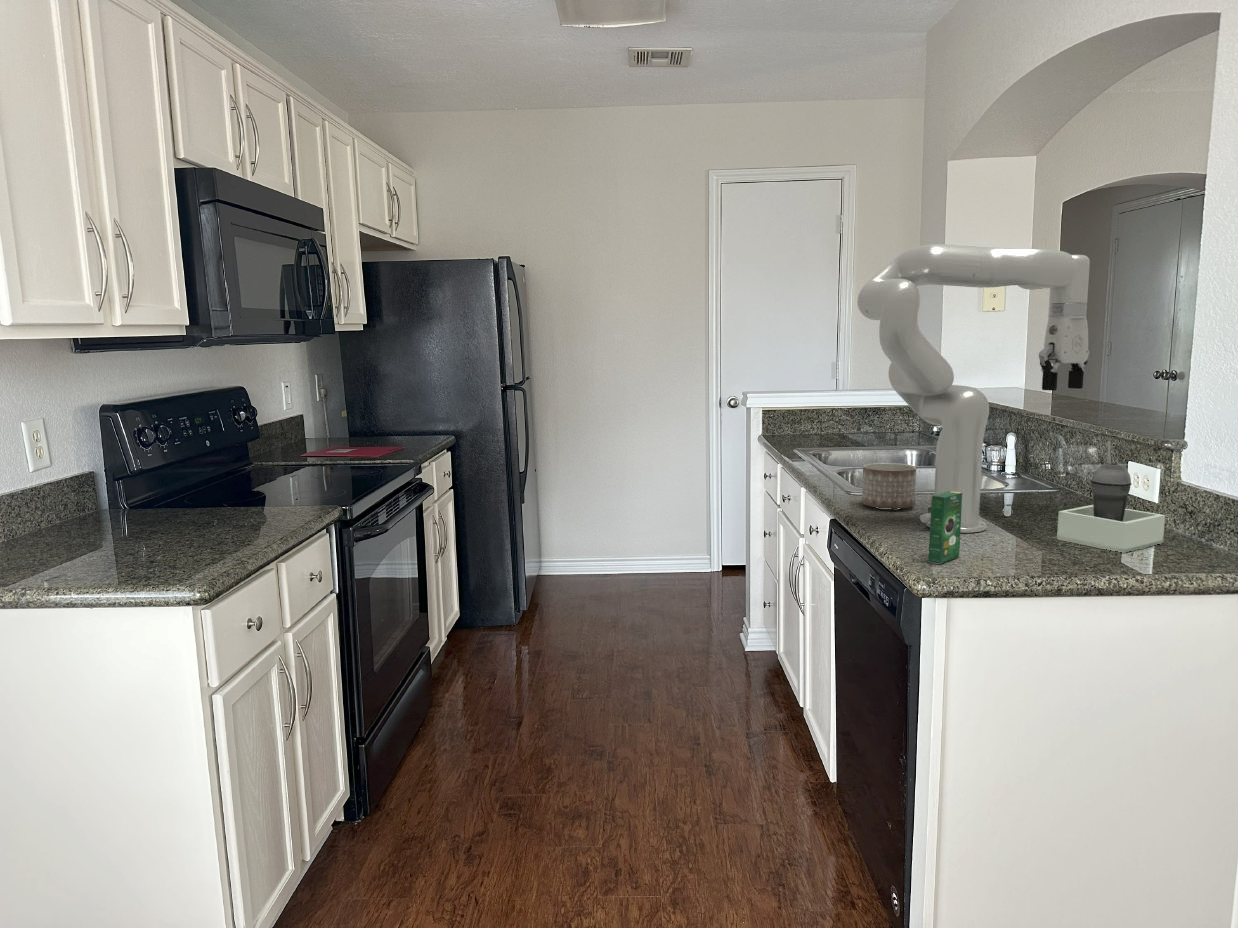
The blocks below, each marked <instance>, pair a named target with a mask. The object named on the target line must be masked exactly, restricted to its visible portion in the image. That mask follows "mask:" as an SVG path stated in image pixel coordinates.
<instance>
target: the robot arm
mask: <svg viewBox="0 0 1238 928" xmlns="http://www.w3.org/2000/svg"><path fill="white" fill-rule="evenodd" d="M1090 264H1091V261H1090V258H1089V257H1088V256H1087V255H1084V254H1070V253H1068V252H1066V251H1063V250H1055V249H1054V250H1053V249H1038V248H1037V249H1036V248H1010V247H1009V248H1007V247H989V246H987V247H986V246H970V245H957V244H945V243H931V244H923V245H917V246H913V247H910V248H908V249H906V250H904V251H902V252H901V253H900V254H899V255H897V256H896V257H895V258H893V260H891V261H890V262H889V263H888V264H887V265H886V266H884V267H883V268H882V269H881V270H880V271H879V272H877V273H876V274H875V275H874V276H873V277H872V278H871V279H870V280H869V281H867V282H866V283H865V284H864V285H863V286H862V288H861V289H860V291H859V293H858V296H857V307H858V310H859V312H860V314H861V315H863V317H865V318H867V319H869V320H873V321H879V326H878V327H879V329H878V334H879V335H878V336H879V344H880V347H881V350H882V353H884V355H885V356H886V358H887V359H888V360H889V361H890V365H889V368H888V379H889V383H890V386H891V387H892V389H893V391H895V392H896V394H898V396H899V397H901V399H902V400H903V401H904V402H905V403H906V404H907V405H908V406H909V407H910V408H911V409H912V410H913V411H914V413H916V415H918V417H920V418H921V419H922V420H923V421H924V422H926V423H927V424H930V425H934V426H938V427H942V428H941V432H940V434H939V437H938V439H937V442H936V449H935V470H934V491H933V492H934V493H933V495H936V494H940V493H944V492H948V491H957V492H962V509H961V530H960V534H962V533H963V534H964V533H967V534H969V533H978V532H983V531H985V530H986V529H987V523H986V522H985V521H982V520H980V504H981V483H982V465H983V462H982V461H983V448H984V447H983V445H984V438H985V433H986V432H985V431H986V427H987V424H988V419H989V415H990V405H989V400H988V398H987V397H986V395H985V393H983V392H982V391H981V390H979V389H978V388H975V387H972V386H967V385H959V384H954V378H955V374H954V370H953V368H952V366H951V365H950V363H949V362H948V360H947V359H946V358H945V357H944V356H943V355H942V353H940V352H939V351H938V350H937V349H936V348H935V347H934V345H932V343H931V342H930V341H929V340H928V339H927V337H925V335H924V334H923V333H922V331H921V329H920V327H919V323H918V321H919V320H918V317H919V316H918V314H919V309H920V306H921V305H920V304H921V293H920V290H919V288H918V287H919V286H929V285H931V286H932V285H933V286H934V285H935V286H950V287H964V288H965V287H967V288H977V289H979V288H980V289H981V288H985V289H986V288H997V287H998V288H999V287H1009V286H1018V287H1019V288H1021V289H1024V290H1028V291H1029V290H1030V291H1031V290H1032V291H1033V290H1043V289H1049V298H1048V311H1047V313H1048V315H1047V316H1048V317H1047V318H1048V320H1047V325H1046V329H1045V335H1044V337H1045V338H1044V346H1043V349H1041V350H1040V351H1039V352H1038V354H1037V355H1038V359H1039V366H1040V367H1041V369H1040V371H1041V372H1042V378H1041V390H1042V391H1055V392H1056V390H1057V389H1058V388H1057V387H1058V386H1057V385H1058V376H1059V375H1058V372H1056V371H1057V369H1058V367H1059V366H1060V364H1068V366H1069V367H1070V370H1069V371H1068V379H1067V387H1068V389H1078V390H1080V389H1081V390H1082V389H1083V387H1084V373H1085V371H1086V366H1087V364H1088V361H1089V360H1088V359H1089V356H1090V350H1089V327H1088V325H1089V324H1088V319H1087V310H1088V309H1087V308H1088V297H1089V296H1088V294H1089V292H1088V291H1089V281H1090V280H1089V279H1090V278H1089V277H1090ZM930 518H931V511H930V512H926V513H922V514H921V515H920V516H919V520H920V522H921V523H922V524H925V525H926V527H927V528H929V529H930Z"/></svg>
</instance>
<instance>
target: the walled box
mask: <svg viewBox="0 0 1238 928" xmlns="http://www.w3.org/2000/svg"><path fill="white" fill-rule="evenodd" d="M1165 520H1166V515H1165V514H1160V513H1156V512H1155V513H1154V512H1148V511H1142V510H1136V509H1130V508H1125V513H1124V518H1123V522H1122V521H1116V520H1110V519H1105V518H1099V517H1094V512H1093V504H1091V505H1090V504H1089V505H1085V506H1079V507H1075V508H1069V509H1065V510H1058V518H1057V532H1056V533H1057V534H1056V540H1058V541H1063V542H1068V543H1072V544H1078V545H1082V546H1088V547H1093V548H1097V549H1101V550H1106V549H1107V550H1106V551H1110V550H1111V552H1115V551H1118V552H1117V553H1120V552H1122V553H1121V554H1126V552H1128V553H1130V552H1129V551H1132V552H1135V551H1134V550H1136V551H1139V550H1138V549H1140V550H1143V548H1144V549H1147V548H1146V547H1148V548H1150V547H1149V546H1152V547H1155V546H1154V545H1156V546H1158V545H1157V544H1160V545H1162V544H1161V543H1163V544H1164V533H1165V523H1166V521H1165Z"/></svg>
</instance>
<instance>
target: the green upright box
mask: <svg viewBox="0 0 1238 928" xmlns="http://www.w3.org/2000/svg"><path fill="white" fill-rule="evenodd" d="M930 499H931V502H930V503H931V504H930V512H931V518H930V528H929V542H928V560H927V562H928V563H932V564H936V565H942V564H946V563H947V562H949V561H951V560H955V559H957V558H959V557H960V549H961V548H960V546H961V533H960V530H961V509H962V492H957V491H948V492H944V493H940V494H936V495H934V494H932V495H931V498H930Z"/></svg>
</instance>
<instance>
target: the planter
mask: <svg viewBox="0 0 1238 928" xmlns="http://www.w3.org/2000/svg"><path fill="white" fill-rule="evenodd" d="M916 481H917V467H916V466H914V465H912V464H907V463H906V464H905V463H899V462H897V463H895V462H873V463H866V464H863V465H862V486H861V487H862V489H861V490H862V491H861V493H862V494H861V495H862V496H861V502H862V504H863V505H865V506H868V507H872V508H874V507H878V508H891V509H897V508H902V509H908V508H911V507H914V506H915V503H916V483H917V482H916Z"/></svg>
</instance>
